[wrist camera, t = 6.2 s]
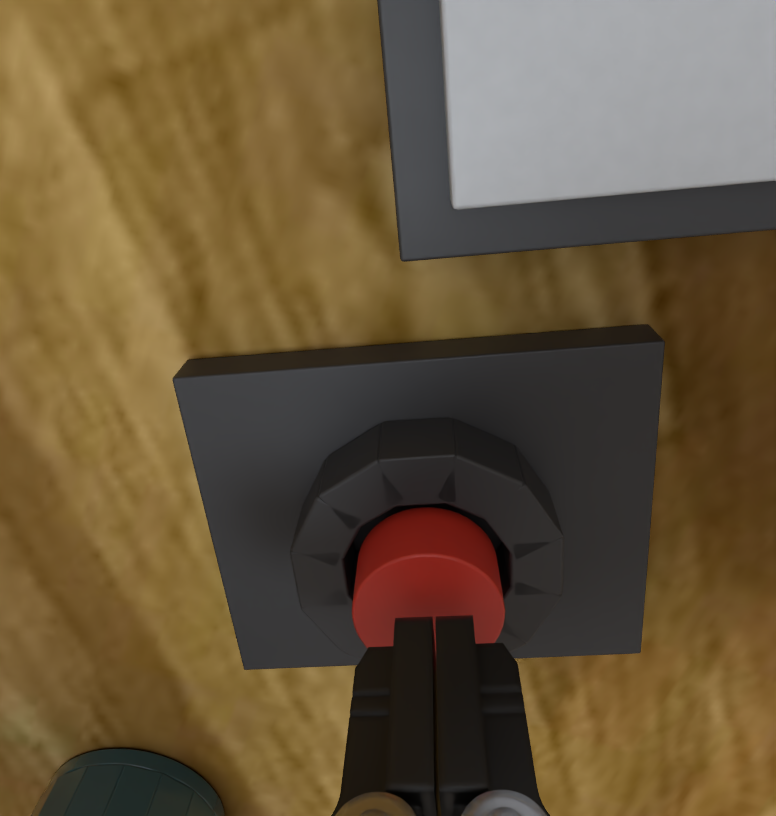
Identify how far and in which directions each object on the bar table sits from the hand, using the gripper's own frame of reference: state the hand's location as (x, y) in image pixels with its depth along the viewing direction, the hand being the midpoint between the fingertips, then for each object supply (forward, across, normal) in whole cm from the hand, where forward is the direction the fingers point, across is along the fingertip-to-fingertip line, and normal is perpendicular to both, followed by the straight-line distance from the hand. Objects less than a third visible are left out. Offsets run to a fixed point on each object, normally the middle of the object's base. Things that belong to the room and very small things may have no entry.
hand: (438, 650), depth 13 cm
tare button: (+3, 0, 0) cm, 3 cm away
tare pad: (+6, 0, 0) cm, 6 cm away
